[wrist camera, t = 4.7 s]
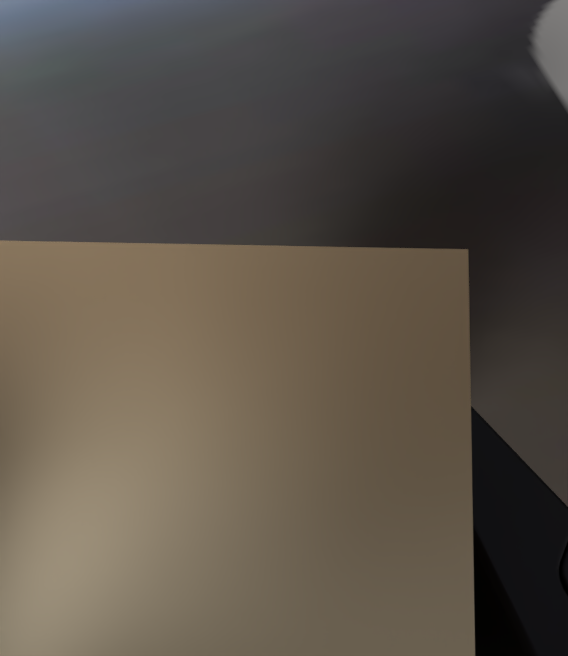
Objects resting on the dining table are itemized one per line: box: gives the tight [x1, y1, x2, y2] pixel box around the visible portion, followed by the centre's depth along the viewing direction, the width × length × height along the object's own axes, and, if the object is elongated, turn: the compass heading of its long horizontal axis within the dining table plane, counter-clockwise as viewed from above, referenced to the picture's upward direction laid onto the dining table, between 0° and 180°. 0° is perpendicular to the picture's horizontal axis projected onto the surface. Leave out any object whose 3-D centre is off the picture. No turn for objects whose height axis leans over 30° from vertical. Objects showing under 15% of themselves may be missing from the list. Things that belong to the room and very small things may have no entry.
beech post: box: [0, 241, 475, 656], centre depth 9 cm, size 4×4×11 cm
